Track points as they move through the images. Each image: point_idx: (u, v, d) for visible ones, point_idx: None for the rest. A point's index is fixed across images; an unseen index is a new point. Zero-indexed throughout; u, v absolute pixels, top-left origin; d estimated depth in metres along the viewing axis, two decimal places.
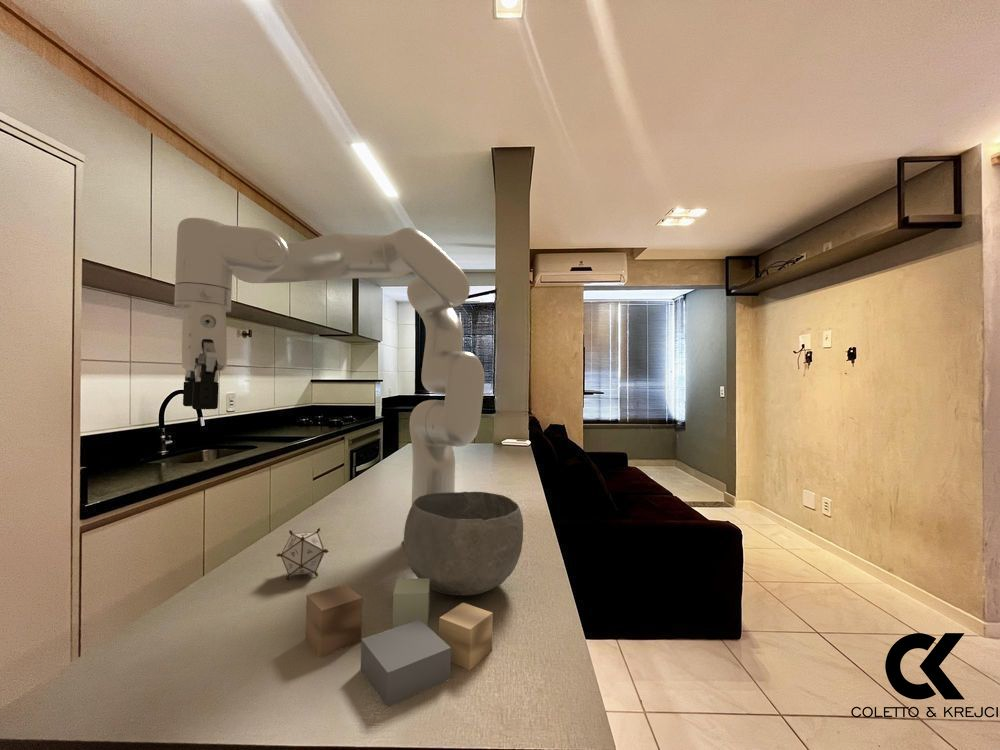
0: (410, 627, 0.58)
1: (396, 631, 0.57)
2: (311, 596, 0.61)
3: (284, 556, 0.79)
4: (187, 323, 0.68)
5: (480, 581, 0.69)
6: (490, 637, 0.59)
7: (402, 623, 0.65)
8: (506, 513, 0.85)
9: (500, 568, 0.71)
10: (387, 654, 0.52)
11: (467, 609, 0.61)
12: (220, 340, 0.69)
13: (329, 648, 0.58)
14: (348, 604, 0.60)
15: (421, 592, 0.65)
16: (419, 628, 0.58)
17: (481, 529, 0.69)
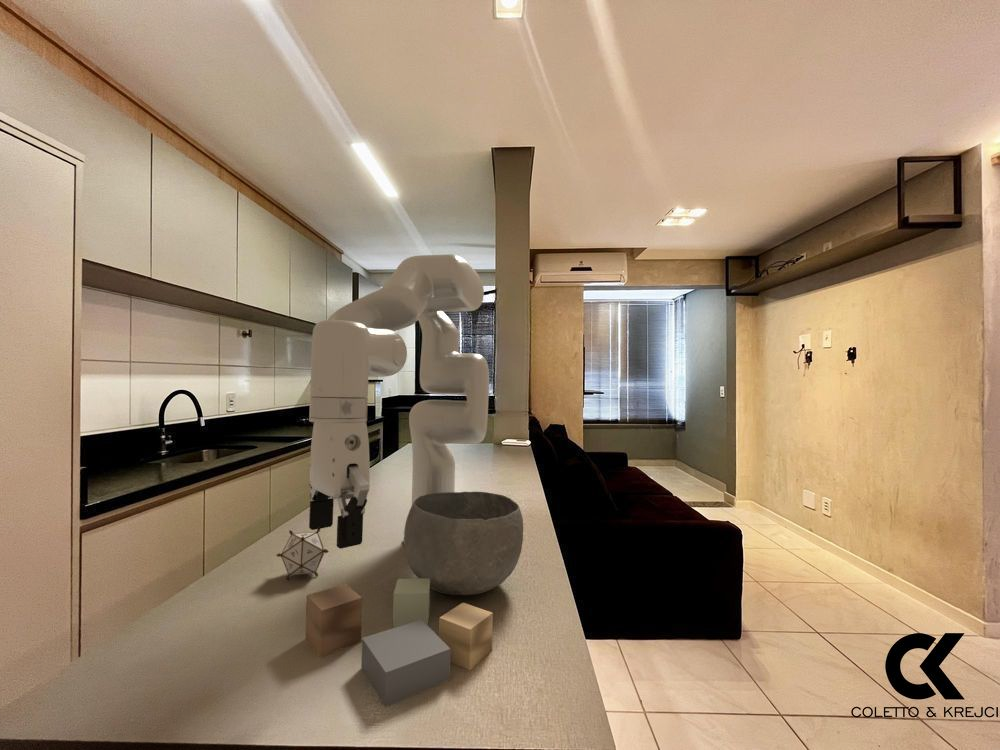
0: (411, 627, 0.58)
1: (397, 630, 0.57)
2: (311, 596, 0.61)
3: (284, 556, 0.79)
4: (328, 444, 0.58)
5: (480, 581, 0.69)
6: (490, 637, 0.59)
7: (402, 623, 0.65)
8: (506, 513, 0.85)
9: (500, 568, 0.71)
10: (387, 654, 0.52)
11: (467, 609, 0.61)
12: (364, 462, 0.59)
13: (329, 648, 0.58)
14: (348, 604, 0.60)
15: (421, 592, 0.65)
16: (420, 629, 0.58)
17: (481, 529, 0.69)
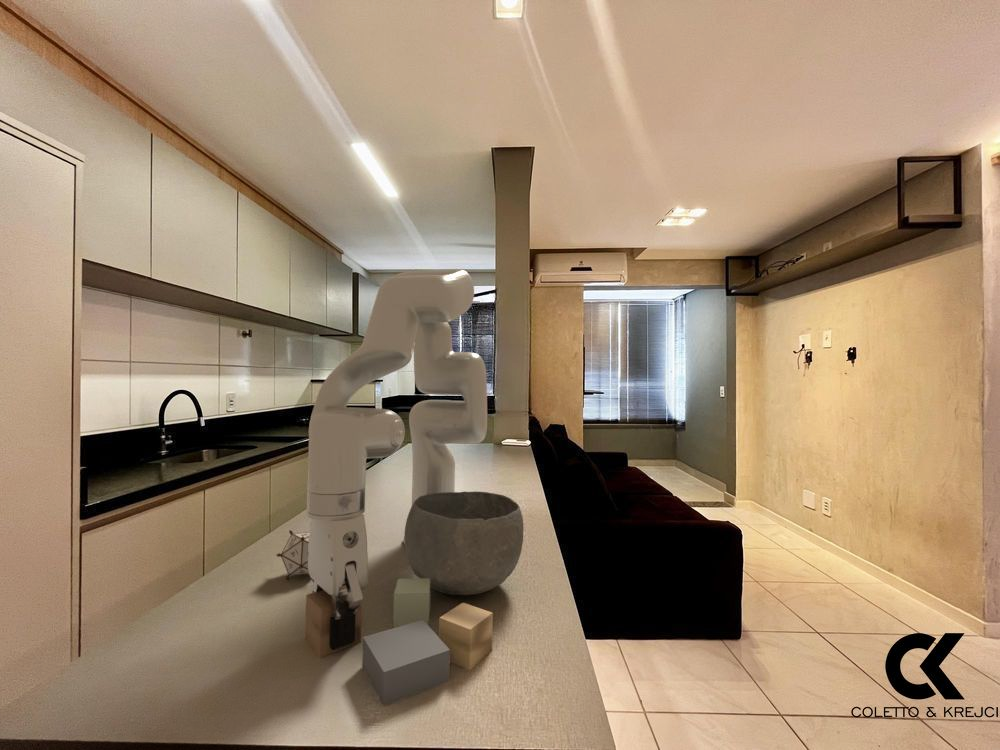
0: (412, 627, 0.58)
1: (398, 630, 0.57)
2: (310, 596, 0.61)
3: (284, 556, 0.79)
4: (326, 542, 0.58)
5: (481, 581, 0.70)
6: (490, 637, 0.59)
7: (403, 623, 0.65)
8: (506, 513, 0.85)
9: (500, 568, 0.71)
10: (386, 653, 0.52)
11: (467, 609, 0.61)
12: (362, 558, 0.59)
13: (329, 648, 0.58)
14: None
15: (422, 592, 0.65)
16: (421, 629, 0.58)
17: (482, 529, 0.69)
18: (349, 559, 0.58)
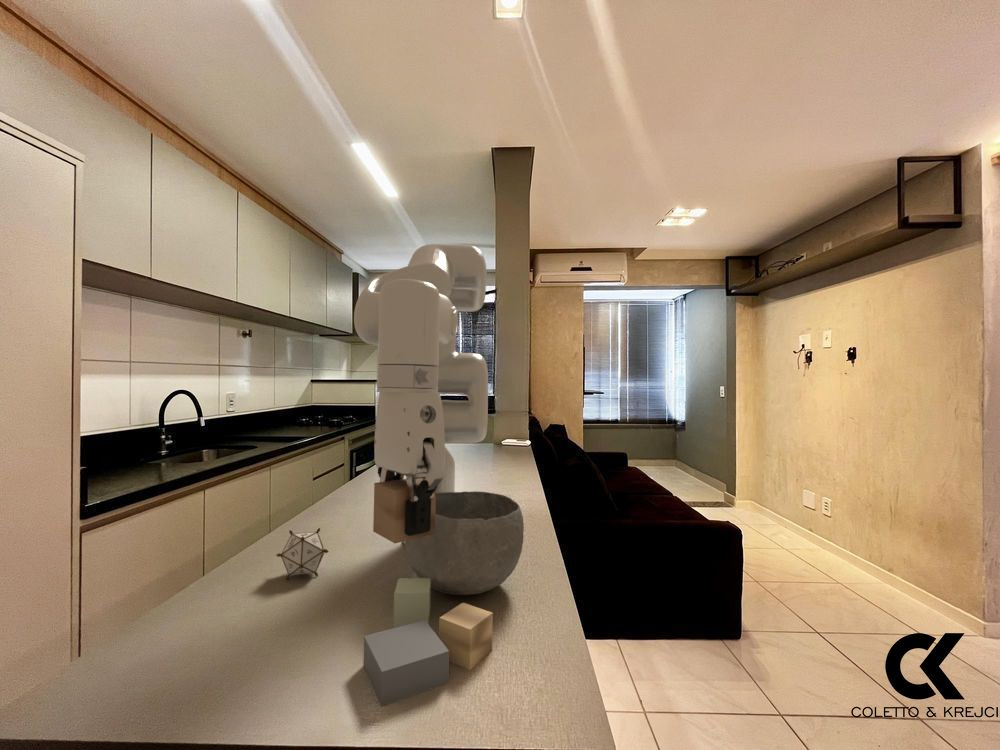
0: (413, 627, 0.58)
1: (399, 630, 0.57)
2: (379, 483, 0.56)
3: (284, 556, 0.79)
4: (401, 417, 0.52)
5: (481, 581, 0.70)
6: (490, 637, 0.59)
7: (403, 622, 0.65)
8: (506, 513, 0.85)
9: (501, 568, 0.71)
10: (386, 653, 0.52)
11: (467, 609, 0.61)
12: (440, 437, 0.53)
13: (403, 534, 0.53)
14: None
15: (422, 592, 0.65)
16: (422, 629, 0.58)
17: (482, 529, 0.69)
18: (427, 435, 0.52)
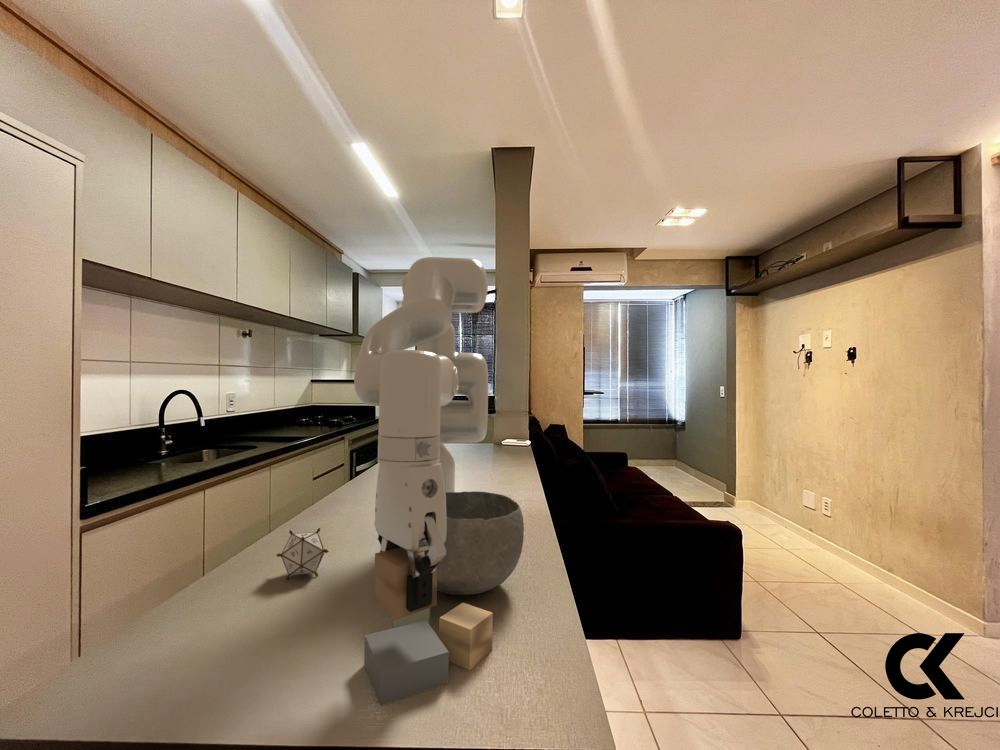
0: (414, 627, 0.58)
1: (400, 630, 0.57)
2: (380, 554, 0.55)
3: (284, 556, 0.79)
4: (402, 491, 0.52)
5: (482, 580, 0.70)
6: (490, 637, 0.59)
7: (403, 622, 0.65)
8: (506, 513, 0.85)
9: (501, 568, 0.71)
10: (385, 653, 0.52)
11: (467, 609, 0.61)
12: (442, 510, 0.53)
13: (405, 610, 0.52)
14: None
15: None
16: (423, 629, 0.58)
17: (483, 529, 0.69)
18: (429, 510, 0.52)
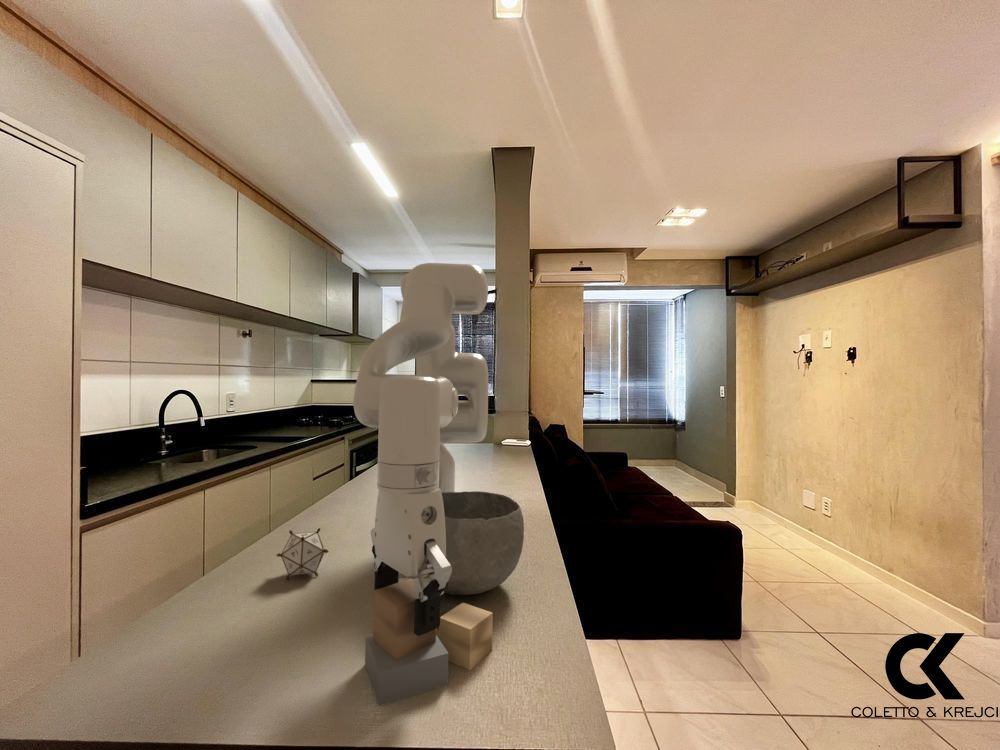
0: None
1: None
2: (379, 592, 0.55)
3: (284, 556, 0.79)
4: (402, 518, 0.52)
5: (482, 580, 0.70)
6: (490, 637, 0.59)
7: None
8: (506, 513, 0.85)
9: (501, 567, 0.71)
10: (385, 653, 0.52)
11: (467, 609, 0.61)
12: (441, 536, 0.53)
13: (404, 649, 0.52)
14: None
15: None
16: None
17: (483, 529, 0.69)
18: (428, 537, 0.52)
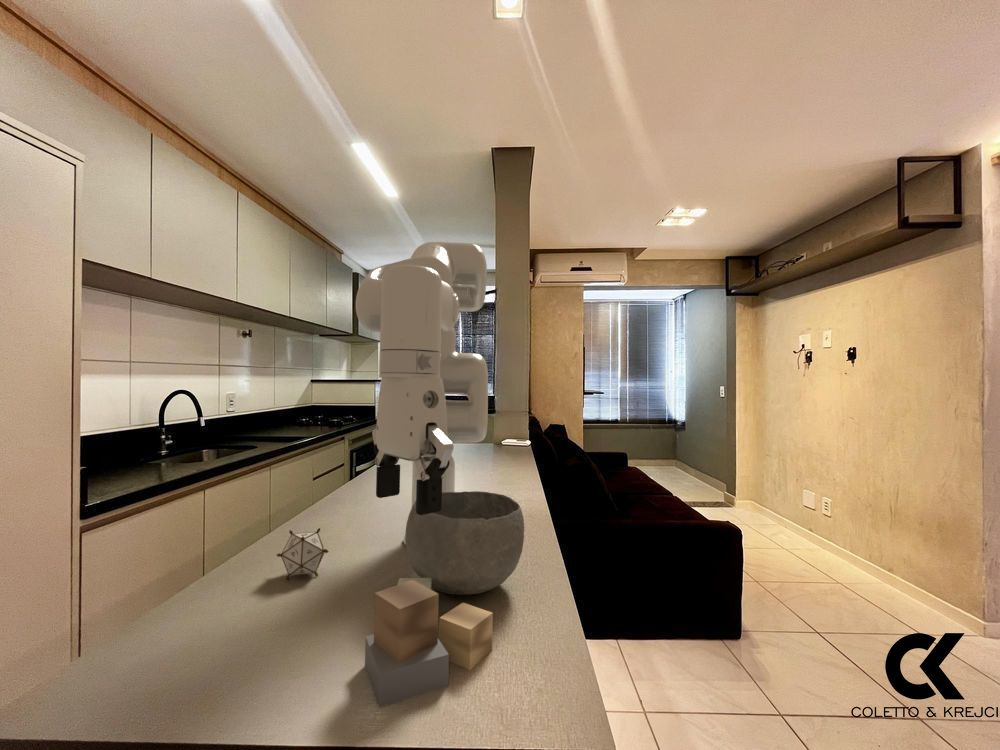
0: None
1: None
2: (380, 594, 0.54)
3: (284, 556, 0.79)
4: (404, 402, 0.53)
5: (482, 580, 0.70)
6: (490, 637, 0.59)
7: None
8: (506, 512, 0.85)
9: (502, 567, 0.71)
10: (385, 654, 0.52)
11: (467, 609, 0.60)
12: (442, 422, 0.54)
13: (407, 651, 0.52)
14: (425, 601, 0.53)
15: None
16: None
17: (483, 528, 0.69)
18: (430, 420, 0.52)
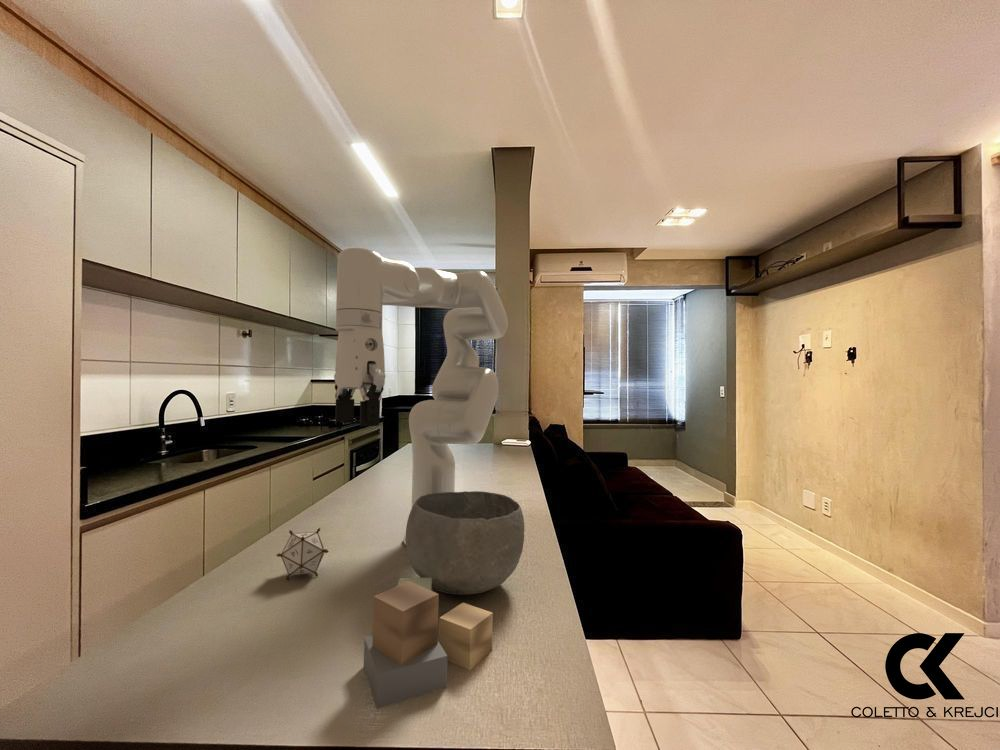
0: None
1: None
2: (379, 597, 0.54)
3: (284, 556, 0.79)
4: (352, 346, 0.73)
5: (483, 580, 0.70)
6: (490, 637, 0.59)
7: None
8: (506, 512, 0.85)
9: (502, 567, 0.71)
10: (384, 655, 0.52)
11: (467, 609, 0.61)
12: (380, 361, 0.74)
13: (409, 653, 0.51)
14: (426, 602, 0.53)
15: None
16: None
17: (484, 528, 0.70)
18: (370, 359, 0.73)
